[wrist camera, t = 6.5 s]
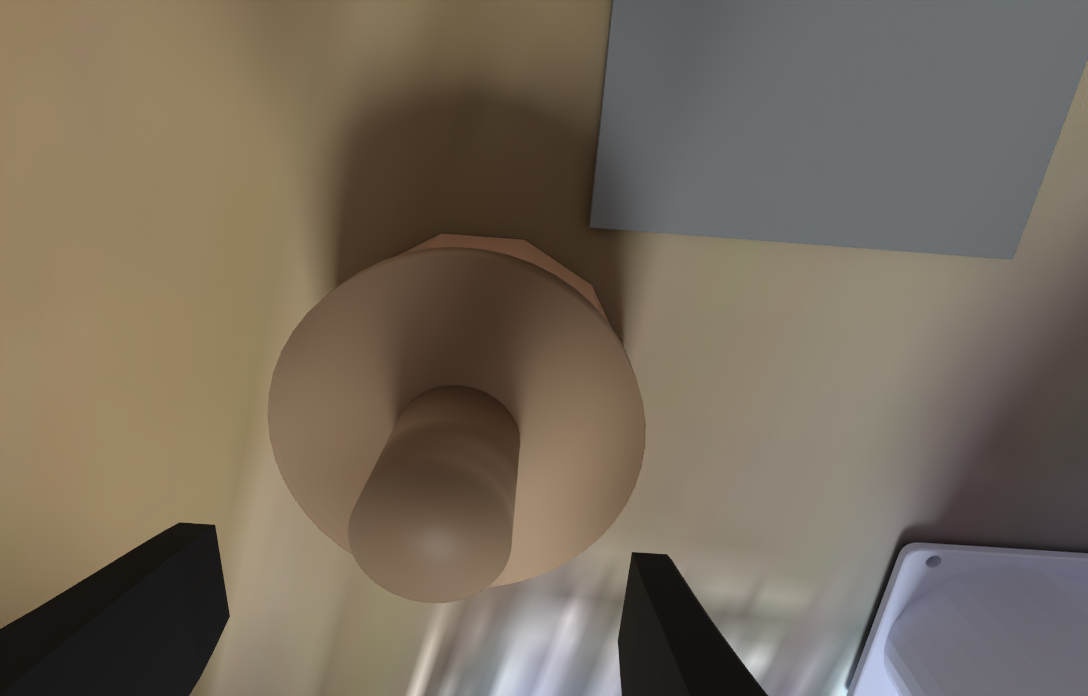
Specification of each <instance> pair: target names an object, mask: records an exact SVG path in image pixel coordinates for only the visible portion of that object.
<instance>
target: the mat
mask: <svg viewBox="0 0 1088 696" xmlns="http://www.w3.org/2000/svg"><path fill="white" fill-rule="evenodd" d="M1087 60H1088V0H612V5H611V14H610V24H609V34H608V44H607V54H606V64H605V74H604V83H603V93H602V103H601V113H600V123H599V133H598V142H597V152H596V162H595V172H594V182H593V192H592V202H591V211H590V221H589V226H590V228H603V229H616V230H629V231H642V232H656V233H669V234H682V235H695V236H709V237H722V238H735V239H748V240H762V241H775V242H788V243H801V244H815V245H828V246H841V247H854V248H868V249H881V250H894V251H907V252H921V253H934V254H947V255H960V256H973V257H987V258H1000V259H1013V257H1014V255H1015V252H1016V249H1017V247H1018V244H1019V241H1020V239H1021V236H1022V233H1023V231H1024V228H1025V225H1026V223H1027V220H1028V217H1029V215H1030V212H1031V209H1032V207H1033V204H1034V201H1035V199H1036V196H1037V193H1038V191H1039V188H1040V185H1041V183H1042V180H1043V177H1044V174H1045V172H1046V169H1047V166H1048V164H1049V161H1050V158H1051V156H1052V153H1053V150H1054V148H1055V145H1056V142H1057V140H1058V137H1059V134H1060V132H1061V129H1062V126H1063V124H1064V121H1065V118H1066V116H1067V113H1068V110H1069V108H1070V105H1071V102H1072V100H1073V97H1074V94H1075V92H1076V89H1077V86H1078V84H1079V81H1080V78H1081V76H1082V73H1083V70H1084V68H1085V65H1086V62H1087Z"/></svg>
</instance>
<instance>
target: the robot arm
mask: <svg viewBox="0 0 1088 696" xmlns="http://www.w3.org/2000/svg"><path fill="white" fill-rule="evenodd" d="M931 556H932V557H931ZM930 557H931V558H930ZM928 558H930V559H928ZM229 617H230V615H229V609H228V602H227V596H226V590H225V584H224V578H223V571H222V565H221V559H220V553H219V547H218V540H217V534H216V528H215V525H209V524H194V523H178V524H176V525H174V526H172V527H170V528H169V529H167V530H165V531H163V532H162V533H160V534H158V535H156V536H155V537H153V538H151V539H150V540H148V541H146V542H145V543H143V544H141V545H140V546H138V547H136V548H135V549H133V550H131V551H130V552H128V553H127V554H125V555H123V556H122V557H120V558H118V559H117V560H115V561H114V562H112V563H110V564H109V565H107V566H105V567H104V568H102V569H101V570H99V571H97V572H96V573H94V574H92V575H91V576H89V577H87V578H86V579H84V580H82V581H81V582H79V583H78V584H76V585H74V586H73V587H71V588H69V589H68V590H66V591H64V592H63V593H61V594H59V595H58V596H56V597H54V598H53V599H51V600H49V601H48V602H46V603H45V604H43V605H41V606H40V607H38V608H36V609H35V610H33V611H31V612H29V613H28V614H26V615H24V616H22V617H21V618H19V619H17V620H15V621H14V622H12V623H10V624H8V625H7V626H5V627H3V628H1V629H0V696H189V695H190V693H191V692H192V690H193V688H194V687H195V685H196V683H197V682H198V680H199V679H200V677H201V675H202V673H203V671H204V669H205V667H206V665H207V663H208V661H209V659H210V657H211V655H212V653H213V651H214V649H215V647H216V645H217V643H218V640H219V638H220V636H221V634H222V632H223V630H224V627H225V625H226V623H227V621H228V619H229ZM618 648H619V663H620V677H621V689H622V696H768V695H767V694H766V692H765V691H764V690H763V689H762V688H761V686H760V685H759V684H758V682H757V681H756V680H755V678H754V677H753V676H752V675H751V673H750V672H749V671H748V669H747V668H746V667H745V665H744V664H743V663H742V661H741V660H740V659H739V657H738V656H737V655H736V653H735V652H734V651H733V649H732V648H731V646H730V645H729V644H728V642H727V641H726V640H725V638H724V637H723V636H722V634H721V633H720V631H719V630H718V629H717V627H716V626H715V624H714V623H713V622H712V620H711V619H710V617H709V616H708V614H707V613H706V611H705V610H704V608H703V607H702V605H701V604H700V603H699V601H698V600H697V598H696V597H695V595H694V594H693V592H692V591H691V589H690V587H689V586H688V584H687V583H686V581H685V580H684V578H683V577H682V575H681V574H680V572H679V570H678V569H677V567H676V566H675V564H674V563H673V561H672V560H671V559H670V557H669V556H668V555H667V554H652V553H636V552H632V556H631V562H630V569H629V575H628V581H627V587H626V594H625V600H624V606H623V612H622V618H621V625H620V631H619V637H618ZM847 696H1088V553H1075V552H1060V551H1044V550H1028V549H1013V548H997V547H982V546H966V545H950V544H935V543H919V542H917V543H910V544H908V545H906V546H905V547H903V548H902V550H901V551H900V553H899V555H898V558H897V561H896V563H895V566H894V569H893V571H892V574H891V577H890V579H889V582H888V585H887V588H886V590H885V593H884V596H883V598H882V601H881V604H880V606H879V609H878V612H877V615H876V617H875V620H874V623H873V625H872V628H871V631H870V633H869V636H868V639H867V641H866V644H865V647H864V650H863V652H862V655H861V658H860V660H859V663H858V666H857V668H856V671H855V674H854V676H853V679H852V682H851V685H850V687H849V690H848V693H847Z"/></svg>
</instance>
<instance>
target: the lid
mask: <svg viewBox="0 0 1088 696" xmlns="http://www.w3.org/2000/svg"><path fill="white" fill-rule="evenodd" d="M268 424H269V434H270V440H271V444H272V448H273V452H274V456H275V460H276V462H277V465H278V467H279V470H280V472H281V475H282V477H283V480H284V481H285V483H286V485H287V487H288V489H289V490H290V492H291V494H292V496H293V497H294V499H295V500H296V502H297V503H298V504H299V506H300V507H301V508H302V510H303V511H304V512H305V514H306V515H307V516H308V517H309V518H310V519H311V521H312V522H313V523H314V524H315V525H316V526H317V527H318V528H319V529H320V530H321V531H322V532H323V533H324V534H325V535H327V536H328V537H329V538H330V539H331V540H333V541H334V542H335V543H336V544H337V545H339V546H340V547H341V548H343V549H344V550H346V551H347V552H349V553H350V554H352V555H353V556H354V558H355V559H356V561H357V563H358V565H359V566H360V567H361V569H362V570H363V571H364V572H365V573H366V574H367V576H368V577H369V578H370V579H372V580H373V581H374V582H375V583H376V584H378V585H379V586H381V587H382V588H384V589H385V590H387V591H389V592H391V593H393V594H395V595H398V596H400V597H403V598H406V599H410V600H414V601H419V602H426V603H446V602H453V601H458V600H462V599H465V598H468V597H471V596H473V595H475V594H477V593H479V592H481V591H483V590H484V589H486V588H487V587H492V586H500V585H507V584H511V583H515V582H519V581H523V580H527V579H530V578H533V577H535V576H538V575H541V574H544V573H546V572H549V571H551V570H553V569H555V568H557V567H559V566H561V565H563V564H565V563H567V562H568V561H570V560H571V559H573V558H574V557H576V556H577V555H579V554H580V553H582V552H583V551H585V550H586V549H587V548H588V547H589V546H591V545H592V544H593V543H594V542H595V541H596V540H598V539H599V538H600V537H601V536H602V535H603V534H604V533H605V531H606V530H607V529H608V528H609V527H610V526H611V525H612V524H613V523H614V521H615V520H616V518H617V517H618V515H619V514H620V513H621V511H622V510H623V508H624V507H625V505H626V503H627V501H628V499H629V497H630V495H631V493H632V491H633V489H634V487H635V485H636V482H637V479H638V476H639V473H640V470H641V466H642V461H643V455H644V449H645V426H646V424H645V416H644V408H643V401H642V398H641V394H640V391H639V387H638V384H637V380H636V377H635V374H634V371H633V369H632V366H631V363H630V361H629V358H628V356H627V354H626V352H625V349H624V347H623V345H622V343H621V341H620V340H619V338H618V336H617V335H616V333H615V332H614V330H613V329H612V327H611V325H610V324H609V322H608V321H607V320H606V319H605V318H604V317H603V315H602V314H601V313H600V312H599V311H598V309H597V308H596V307H595V306H594V305H593V304H592V303H591V302H590V301H589V300H588V299H586V298H585V297H584V296H583V295H582V294H581V293H580V292H579V291H578V290H577V289H575V288H574V287H572V286H571V285H569V284H568V283H567V282H565V281H564V280H562V279H561V278H559V277H558V276H556V275H555V274H553V273H551V272H549V271H547V270H545V269H543V268H541V267H539V266H537V265H535V264H533V263H531V262H528V261H525V260H522V259H519V258H517V257H514V256H511V255H508V254H503V253H499V252H494V251H490V250H485V249H476V248H465V247H443V248H429V249H423V250H417V251H412V252H406V253H403V254H400V255H397V256H394V257H391V258H388V259H385V260H382V261H380V262H378V263H376V264H374V265H372V266H370V267H368V268H365V269H363V270H361V271H360V272H358V273H357V274H355V275H354V276H352V277H351V278H349V279H348V280H346V281H345V282H343V283H342V284H341V285H339V286H338V287H337V288H336V289H334V290H333V291H332V292H330V293H329V294H328V295H327V296H325V297H324V298H323V299H322V300H321V301H320V302H319V303H318V304H317V305H316V306H315V307H313V308H312V309H311V310H310V311H309V312H308V313H307V314H306V316H305V317H304V318H303V319H302V321H301V322H300V323H299V324H298V326H297V327H296V328H295V329H294V331H293V332H292V334H291V336H290V337H289V339H288V341H287V343H286V344H285V346H284V348H283V350H282V351H281V354H280V357H279V359H278V362H277V364H276V367H275V370H274V372H273V377H272V382H271V387H270V391H269V402H268Z"/></svg>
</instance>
